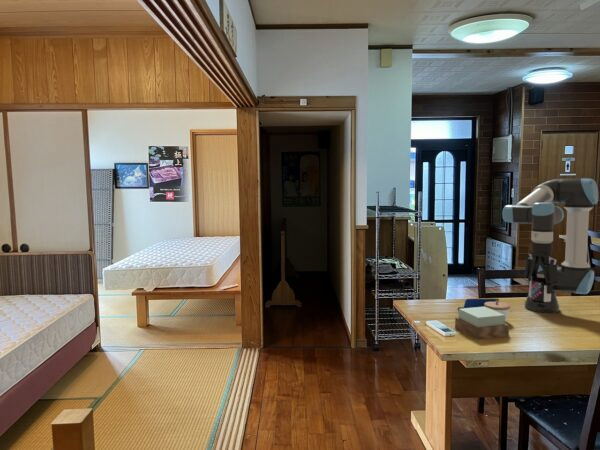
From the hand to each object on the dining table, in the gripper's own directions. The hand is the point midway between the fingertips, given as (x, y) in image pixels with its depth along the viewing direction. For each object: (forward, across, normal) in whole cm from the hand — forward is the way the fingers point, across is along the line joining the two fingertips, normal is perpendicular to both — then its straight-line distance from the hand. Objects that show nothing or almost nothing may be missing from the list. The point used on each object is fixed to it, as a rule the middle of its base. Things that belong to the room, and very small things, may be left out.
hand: (539, 298), depth 171 cm
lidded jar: (+17, -25, 0) cm, 30 cm away
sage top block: (+12, -15, -15) cm, 25 cm away
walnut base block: (+17, -15, -16) cm, 27 cm away
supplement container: (+1, 0, 0) cm, 1 cm away
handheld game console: (+18, -37, 0) cm, 41 cm away
